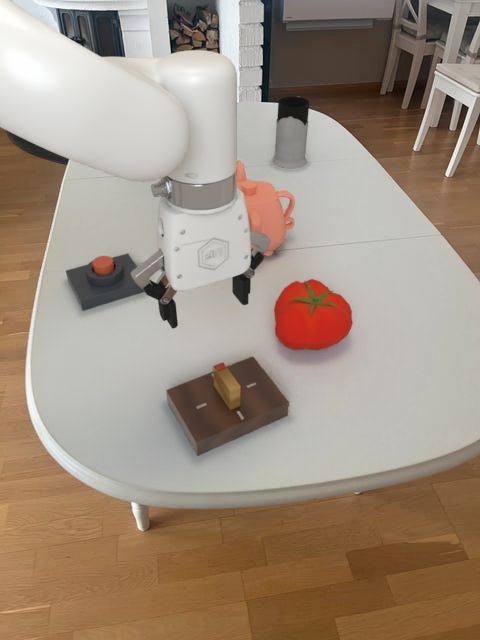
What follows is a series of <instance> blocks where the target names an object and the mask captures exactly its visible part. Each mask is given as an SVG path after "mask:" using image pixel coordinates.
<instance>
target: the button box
mask: <svg viewBox="0 0 480 640" xmlns="http://www.w3.org/2000/svg"><path fill="white" fill-rule="evenodd" d="M110 257H111V258H112V259H113V263H114V271H112V272H111V273H108V274H105V275H98V274H96V273H95V272H94V268H93V264H92V262H93V260H91V261H90V262H89V263H87V264H84V265H81V266H77V267H73V268H69V269H67V270H65V274H66V278H67V281H68V283H69V285H70V288H71V289H72V292H73V293H74V295H75V298H76V299H77V301H78V304H79V306H80V307H81V310H82V311H87V310H90V309H93V308H96V307H99V306H103V305H106V304H109V303H112V302H113V303H114V302H116V301H119V300H122V299H126V298H129V297H132V296H134V295H135V296H136V295H138V294H141V293H145V292H144V291H143V290H142V289H141V288H140V287H139V286H138V285H137V283H136V282H135V281H134V279H133V278H132V276H131V272H132V271H133V270H134V269H135V268H137V267H138V265H137V264H136V263H135V262H134V260H133V258H132V257H131V255H130V254H129V253H123V254H120V255H117V256H113V257H112V256H110Z"/></svg>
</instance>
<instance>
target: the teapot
mask: <svg viewBox="0 0 480 640" xmlns="http://www.w3.org/2000/svg"><path fill="white" fill-rule="evenodd" d="M237 188H238V189H240V190H241V191H242V192H243V194H244V198H245V202H246V207H247V213H248V219H249V227H250V231H254V232H258V233H262V234H265V235H266V236H267V237H268V238H269V239H270V240H271V243H270V245H269V247H268V249H267V251H266V253H264V255H263V256H264V257H265V256H266V257H268V256H269V257H270V256H272V255H274V253H275V252H274V250H276V249H278V248H280V247H281V245H282V244H283V243H284V241H285V240H286V237H287V230H290V229H293V227H294V225H295V219H294V218H293V217H291V214H292V212H293V211H294V207H295V205H296V199H295V196H294V195H293V193H291V192H290V191H287V190H277V191H276V189H275V187H274V186H273V184H272V183H270V182H268V181H263V180H251V179H250V180H248V179H247V175H246V170H245V164H244V163H243V161H241V160H237ZM280 198H287V199H289V204H288V205H287V208H286V210H285V212H284V210H283V206H282V204H281V201H280ZM253 246H254V245H252V244H251V249H253V248H254V247H253Z"/></svg>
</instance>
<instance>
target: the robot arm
mask: <svg viewBox="0 0 480 640" xmlns="http://www.w3.org/2000/svg"><path fill="white" fill-rule="evenodd" d="M0 128H1V129H3V130H5V131H7V132H9V133H11V134H13V135H15V136H17V137H19V138H22V139H23V140H25V141H27V142H29V143H32V144H34V145H36V146H37V147H40V148H43V149H45V150H46V151H49V152H51V153H53V154H56V155H58V156H60V157H63V158H65V159H68V160H70V161H73V162H75V163H78V164H81V165H82V166H83V165H84V166H87V167H89V168H92V169H95V170H97V171H100V172H103V173H106V174H108V175H111V176H115V177H117V178H120V179H123V180H127V181H132V182H142V183H144V182H154V181H157V182H155V183H152V184H151V185H150V187H151V188H150V189H151V193H152V195H153V197H154V198H158V197H160V200H159V206H158V214H157V230H156V231H157V233H156V236H157V239H156V240H157V244H156V245H157V251H156V252H155V253H153V254H152V255H151V256H149V257H148V258H147V259H145V260H144V261H143V262H141V264H139V265H137V268H135V269H134V270H133V271H132V272H131V276H132V278H133V279H134V281H135V282H136V283H137V285H138V286H139V287H140V288H141V289H142V290H143V291H144V292H143V293H145V295H146V296H148V297H151V298H152V299H155V300H157V303H158V311H159V316H160V318H161V320H162V321H163V322H167V323H168V325H169V326H170V327H171V330H172V329H176V328H178V326H179V324H178V322H179V321H178V313H177V311H178V310H177V304H176V301H175V300H174V297H175V295H176V294H177V293H178V292H186V291H187V292H188V291H191V290H194V289H198V288H201V287H205V286H208V285H211V284H215V283H218V282H221V281H224V280H228V279H232V281H231V282H232V287H231V288H232V289H231V291H232V294H233V295H234V297H235V298H236V299H237V300H238V302H239V303H240V304H241V305H243V306H247V305H248V304H249V295H250V294H251V282H252V279H253V278H254V277H255V275H256V269H258V268H259V266H260V265H261V264H262V263H263V261H264V259H265V255H264V253H266V251H267V249H268V247H269V245H270V243H271V240H270V239H269V238H268V237H267V236H266V235H265V234H262V233H258V232H254V231H250V227H249V219H248V213H247V207H246V202H245V198H244V194H243V192H242V191H241V190H240V189H238V188H237V161H238V151H237V150H238V74H237V70H236V66H235V65H234V63H233V61H232V60H231V59H230V58H229V57H228V56H227V55H224V54H222V53H218V52H216V51H210V50H201V49H191V50H190V49H189V50H182V51H176V52H173V53H169V54H167V55H165V56H160V57H135V56H134V57H133V56H100V55H99V54H97V53H96V52H94V51H92V50H90V49H88V48H86V47H85V46H83V45H82V44H80V43H78V42H76V41H74V40H72V39H71V38H69V37H68V36H67V35H64V34H62V32H60V31H58V30H56V29H54V28H52V27H51V26H50V25H48V24H47V23H45V22H43V21H42V20H41V19H39V18H38V17H36V16H34V15H33V14H31V13H30V12H29V11H27V10H25V8H23V7H21V6H20V5H18V4H17V3H16V2H14V1H13V0H0ZM158 180H159V181H158ZM251 244H252V245H254V246H253V247H254V248H253V249H251ZM158 271H160V272H161V274H160V276H159V277H158V278H157V280H156V281H153V280H151V279H150V277H152V276H153V275H155V274H156V273H157V272H158Z"/></svg>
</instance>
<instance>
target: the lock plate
mask: <svg viewBox="0 0 480 640" xmlns="http://www.w3.org/2000/svg"><path fill="white" fill-rule="evenodd" d="M226 367H227V368H228V370H229V371H230V372H231V374H232V375H233V377H234V378H235V379H236V381H237V382H238V384H239V385H240V386H241V392H240V406H239V407H237V408H234V409H232V410H230V409H229V408H228V406H227V405H226V403H225V402H224V400H223V399H222V397H221V396H220V394H219V393H218V391H217V390H216V388H215V387H214V376H213V371H211V372H209V373H207V374H204V375H201V376H198V377H196V378H194V379H191V380H187V381H186V382H183V383H181V384H178V385H175V386H173V387H170V388H168V389H166V390H165V392H166V399H167V400H166V401H167V405H168V407H169V408H170V410H171V412H172V414H173V415H174V417H175V420H176V421H177V423H178V424H179V426H180V428H181V430H182V432H183V433H184V435H185V437H186V439H187V440H188V442H189V444H190V446H191V448H192V449H193V451H194V453H195V454H196V456H197V457H198V456H201V455H203V454H205V453H208V452H210V451H212V450H214V449H217V448H218V447H222V446H223V445H225V444H228V443H230V442H232V441H234V440H236V439H239V438H241V437H243V436H245V435H248V434H251V433H252V432H254V431H256V430H259V429H261V428H263V427H266V426H268V425H270V424H272V423H274V422H276V421H279V420H281V419H283V418H285V417H288V414H289V405H290V401H289V400H288V399H287V397H286V396H285V395H284V394H283V392H282V391H281V390H280V388H279V387H278V386H277V384H276V383H275V382H274V381H273V379H271V377H270V376H269V374H268V373H267V372H266V371H265V369H264V368H263V367H262V366H261V364H260V363H259V361H257V359H256V358H255V357H254V355H252V356H250V357H247V358H245V359H242V360H240V361H237V362H234V363H232V364H229V365H226Z"/></svg>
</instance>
